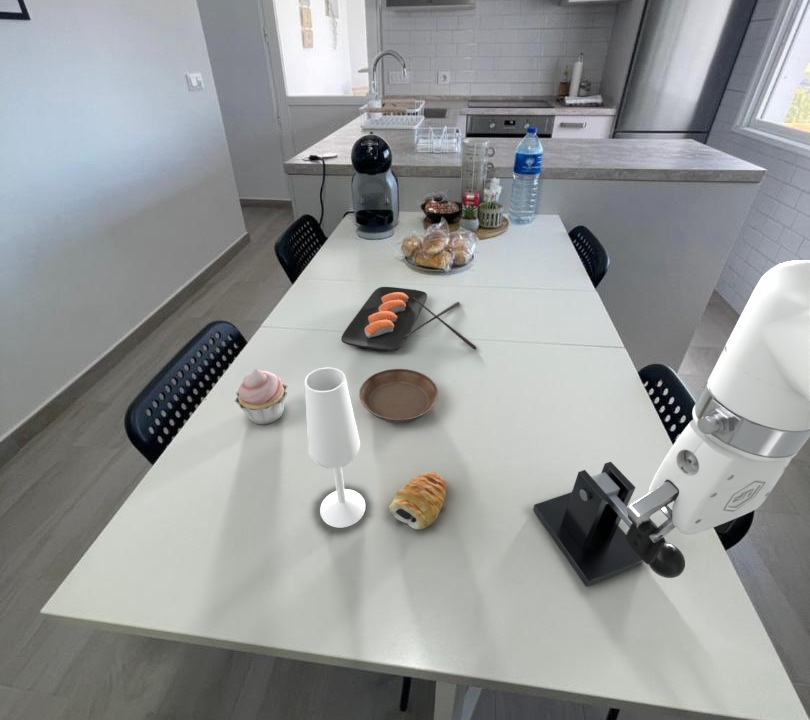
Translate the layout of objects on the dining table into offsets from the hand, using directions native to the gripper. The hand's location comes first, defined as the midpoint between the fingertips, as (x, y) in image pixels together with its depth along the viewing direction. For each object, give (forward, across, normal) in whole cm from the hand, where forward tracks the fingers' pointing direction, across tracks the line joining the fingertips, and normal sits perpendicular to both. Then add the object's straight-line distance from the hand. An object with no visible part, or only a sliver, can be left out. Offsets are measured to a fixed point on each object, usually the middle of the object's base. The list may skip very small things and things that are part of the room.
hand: (675, 535), depth 46 cm
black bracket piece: (+14, 0, +10) cm, 17 cm away
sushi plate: (+15, -1, +70) cm, 72 cm away
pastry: (+14, -20, +22) cm, 33 cm away
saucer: (+15, -15, +45) cm, 49 cm away
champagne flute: (+14, -30, +25) cm, 42 cm away
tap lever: (+6, 0, +4) cm, 7 cm away
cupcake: (+15, -39, +50) cm, 65 cm away
